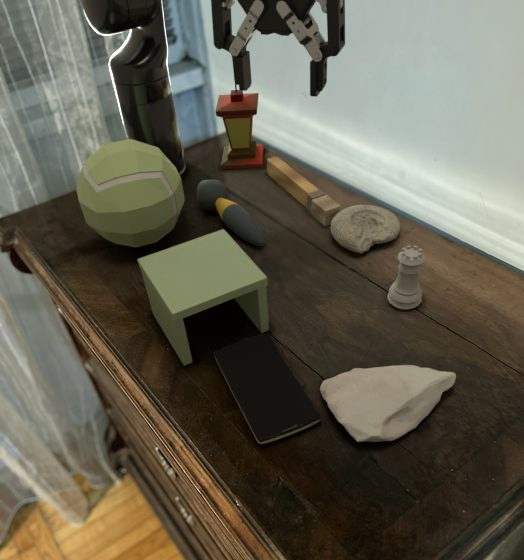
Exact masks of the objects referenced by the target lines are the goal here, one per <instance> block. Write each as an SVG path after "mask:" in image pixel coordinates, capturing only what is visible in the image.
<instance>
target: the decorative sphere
mask: <svg viewBox="0 0 524 560" xmlns="http://www.w3.org/2000/svg"><path fill="white" fill-rule="evenodd" d="M75 191H76V195H77V200H78V204H79V206H80V209H81V212H82V215H83V217H84V220H85V224H86V225H88V227H90V228H91V229H92V230H94V231H95V232H96V233H97V234H99V235H100V236H101V237H102V238H103V239H106V241H109V242H111V243H113V244H115V245H120V246H125V247H131V248H140V247H144V246H148V245H151V244H155V243H158V242H159V241H160V240H162V239H163V238H164V237H165V236H166V235H168V234H169V233H170V232H171V231H173V230H174V229H175V227H176V224H177V222H178V219H179V216H180V215H181V211H182V209H183V206H184V204H185V201H186V197H185V192H184V186H183V181H182V176H181V177H180V175H179V173H178V171H177V169H176V167H175V166H174V165H173V164H172V163H171V162H170V160H169V159H168V158H167V157H166V156H165V155H164V154H163V152H162V151H161V150H160V149H159V148H158V147H155V146H152V145H148V144H145V143H142V142H139V141H136V140H132V139H127V138H126V139H122V140H116V141H112V142H107V143H104V144H102V145H101V147H99V148H98V149H97V150H96V151H95V152H94V153H93V154H91V155H90V157H88V158H87V159H86V160H85V161H84V165H82V166H81V168H80V172H79V176H78V181H77V183H76V190H75Z"/></svg>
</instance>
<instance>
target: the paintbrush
mask: <svg viewBox="0 0 524 560" xmlns="http://www.w3.org/2000/svg"><path fill="white" fill-rule="evenodd" d="M196 199H197V202H198V204H199V206H200V207H201V208H202V209H204V210H206V211H208V212H216V211H217V213H218V215H219V217H220V219H221V221H222V223H224V225H225V226H226V227H227V228H228V229H229V230H231V231H232V232H233V233H234V234H235V235H237V236H238V237H239V238H241V239H243V240H244V241H245V242H247V243H250V244H251V245H253V246H257V247H258V246H259V247H263V246H264V245H265V238H264V234H263V232H262V230H261V228H260V226H259V225H258V224H257V222H256V221H255V220H254V218H253V217H252V215H250V214H249V213H248V212H247V211H246V210H245V208H243V207H242V206H241V205H240V204H238V203H236V202H234V201H232V200H229V199H228V190H227V188H226V186H225V184H224V183H223V182H221V181H220V180H218V179H212V178H211V179H205V180H204V179H203V180H201V181H200V182H199V183H198V184H197V187H196Z"/></svg>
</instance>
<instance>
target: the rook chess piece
mask: <svg viewBox="0 0 524 560" xmlns="http://www.w3.org/2000/svg"><path fill="white" fill-rule="evenodd" d="M411 246H412V245H411V244H409V245H406V246H404V247H402V248H401V251H400V252H399V253H398V254H397V260H398V261H399V263H398V265H397V268H398V273H397V276H396V280H394V282H393V283H392V284H391V285H390V286H389V289H388V293H387V301H388V302H389V303H390V304H391V306H392V307H394V308H395V309H398V310H400V311H401V310H402V311H407V310H408V311H409V310H414V309H415V308H416V307H418V306H419V305H421V303H422V301H423V300H422V299H423V298H422V297H423V290H422V287H421V285H420V282H419V273H420V271H421V270H422V266H421V265H422V264H423V263H424V262H425V255H424V254H423V249H422V248H419V246H418V245H415V244H414V245H413V247H411Z"/></svg>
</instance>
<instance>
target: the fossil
mask: <svg viewBox="0 0 524 560" xmlns="http://www.w3.org/2000/svg"><path fill="white" fill-rule="evenodd" d="M400 231H401V222H400V220H399V218H398V217H397V216H396V214H395V213H394V212H392V211H391V210H388V209H386V208H384V207H381V206H377V205H372V204H354V205H351V206H348V207H345V208H343V209H340V212H338V213H337V214H336V215H335V216H334V218H333V219H332V222H331V225H330V233H331V236H332V238H333V239H334V240H335V241H336V242H337V244H339V245H340V246H341V247H342V248H344V249H346V250H348V251H350V252H353V253H356V254H359V255H360V254H363V253H365V252H366V251H367V252H368V251H369V250H370V248H371V247H373V246H374V245H375V244H376V245H380V244H386V243H389V242H391V241H393V240H395V239H396V238H397V237H398V235H400Z"/></svg>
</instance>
